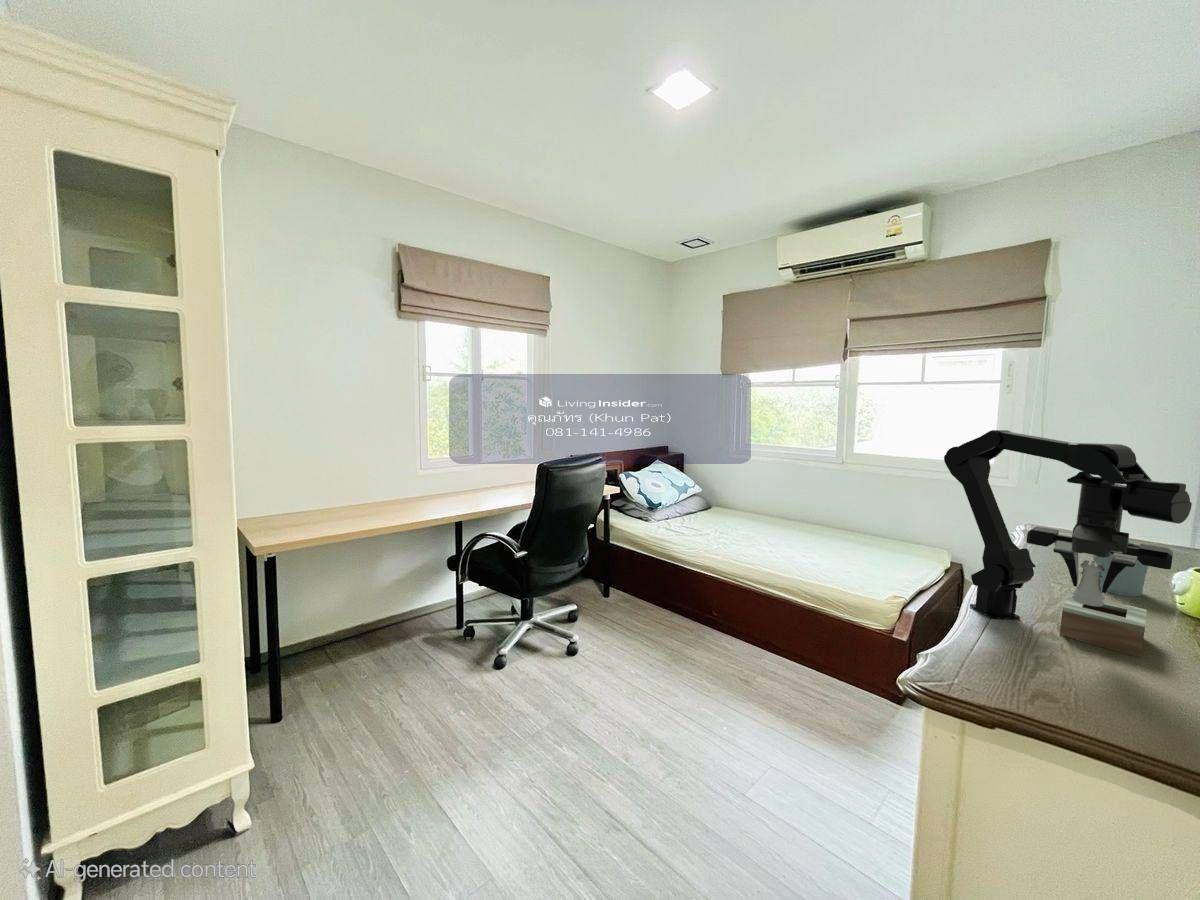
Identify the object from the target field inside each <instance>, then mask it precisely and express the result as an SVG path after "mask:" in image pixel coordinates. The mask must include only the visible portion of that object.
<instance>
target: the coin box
mask: <svg viewBox="0 0 1200 900" xmlns="http://www.w3.org/2000/svg"><path fill="white" fill-rule="evenodd" d="M1072 595H1074V593H1073V592H1069V594H1068V596H1067V598H1066V600H1065V602H1064V603H1063V606H1062V609H1061V610H1062V611H1061V620H1060V627H1059V636H1062V635H1063V637H1066V636H1068V637H1067V638H1069V637H1071V638H1070V639H1073V638H1074V640H1077V641H1081V642H1083V643H1089V644H1091V645H1095V646H1098V647H1102V648H1107V649H1108V650H1113V651H1116V652H1119V653H1124V654H1127V655H1130V656H1133V657H1138V658H1142V651H1143V646H1144V637H1145V632H1146V621H1147V609H1144V608H1140V607H1136V606H1132V605H1126V604H1123V603H1120V602H1119V603H1118V602H1115V601H1111V600H1110V601H1109V600H1106V599H1105V600H1103V602H1104V603H1105V604H1104V605H1103V606H1100V607H1097V606H1089V605H1085V604H1082V603H1079V602H1077V601H1075V600H1074V599H1073V598H1072Z"/></svg>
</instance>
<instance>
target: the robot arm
mask: <svg viewBox="0 0 1200 900" xmlns="http://www.w3.org/2000/svg"><path fill="white" fill-rule="evenodd" d="M1004 450H1006V451H1011V452H1016V453H1021V454H1026V455H1031V456H1036V457H1040V458H1045V459H1050V460H1054V461H1058V462H1060V463H1063V464H1065V465H1067V466H1069V467H1070V468H1073V469H1075V470H1078V473H1076V474H1074V475H1073V476H1072V477H1070V478H1067V479H1066V481H1067V482H1068V483H1069V484H1070V483H1071V484H1075V485H1076V484H1077V485H1081V486H1080V491H1079V492H1080V493H1079V500H1078V501H1079V502H1078V509H1077V515H1076V524H1075V525H1074V527H1073V529H1072V534H1071V535H1072V536H1069V535H1064V534H1060V532H1059V529H1054V528H1049V527H1048V528H1047V527H1041V526H1035V527H1032V528H1031V529H1030V530H1029V531H1027V534H1026V543H1027V544H1030V545H1035V546H1040V547H1041V546H1042V547H1046V548H1047V547H1049V546H1051V545H1053V544H1054V548H1053V549H1052V551H1053V552H1054V553H1056V554H1059V555H1060V556H1061V557H1062V558H1063V560H1064V562H1065V565H1066V567H1067V569H1068V573H1069V575H1070V579H1071V582H1072V585H1073V587H1076V588H1077V587H1078V583H1079V578H1080V577H1079V575H1080V574H1079V573H1080V572H1079V554H1086V555H1087V554H1088V555H1092V556H1093V555H1096V556H1098V557H1109V556H1110V553H1111V554H1114V557H1113V559H1112V560H1111V563H1110V567H1109V569H1108V572H1107V575H1106V578H1105V581H1104V584H1103V588H1102V590H1101V592H1102V594H1106V593H1107V592H1106V591H1107V589H1108V588H1109V586H1110V585H1111V583H1112V582H1113V580H1114V579H1115V578H1116V576H1117V575H1118V574H1119V573H1120V572H1121V571H1122V570H1123V569H1124V568H1125V567H1135V566H1136V563H1137V560H1138V561H1139V562H1140V563H1141V564H1142V565H1146V566H1148V567H1153V568H1156V569H1157V568H1158V569H1163V570H1171V569H1172V562H1173V556H1174V551H1172V549H1170V548H1169V547H1165V546H1164V547H1163V546H1158V545H1157V546H1156V545H1153V544H1152V545H1151V544H1145V543H1140V544H1139V545H1140V546H1139V548H1135V547H1129V546H1128V542H1129V540H1130V533H1129V532H1123V531H1121V526H1122V517H1123V512H1125V511H1126V512H1127V513H1128V514H1129V515H1130V516H1133V517H1136V518H1137V517H1139V518H1144V519H1150V520H1154V521H1155V520H1156V521H1162V522H1166V523H1167V522H1168V523H1173V524H1182V523H1184V522H1185V521H1186V520H1187V518H1188V517H1189V515H1190V513H1191V510H1192V505H1193V503H1192V501H1191V498H1190V495H1189V493H1188V491H1186V489H1187V484H1186V483H1183V482H1182V483H1181V482H1166V481H1165V482H1163V481H1155V480H1152V479H1151V477H1150V476H1149V475H1148V474H1147V473H1146V471H1145V470H1144V469H1143V468H1142V467H1141V466H1140V465H1139V464H1140V463H1138V462H1137V456H1136V453H1135V452H1134V451H1133V450H1132V448H1130V447H1129V446H1127V445H1123V444H1119V443H1118V444H1117V443H1097V442H1096V443H1094V442H1093V443H1091V442H1090V443H1088V442H1085V443H1084V442H1070V441H1063V440H1058V439H1053V438H1047V437H1041V436H1036V435H1030V434H1024V433H1017V432H1014V431H1010V430H1007V429H999V430H997V429H994V430H993V429H992V430H988V431H987V432H986V433H984V434H982V435H981V436H978V437H976V438H974V439H971V440H969V441H966V442H965V443H962V444H961V445H958V446H952V447H951V448H949V449H948V450H947V451H946V453H945V455H943V461H944V464H945V466H946V467H947V469H948V471H949V472H950V473H949V474H950V475H951V476H953V477H954V478H955V479H956V480H957V482H959V483H960V484H961V486H962V487H963V490H964V493H965V496H966V498H967V501H968V503H969V506H970V509H971V512H972V514H973V516H974V517H973V518H974V519H975V522H976V525H977V527H978V530H979V534H980V536H981V538H982V541H983V544H984V549H983V553H982V558H981V559H982V565H983V568H982V569H980V570H979V571H976V572H974V573H972V574H971V575H970V578H971V582H972V585H974V586H976V587H977V588H976V595H975V596H976V597H975V603H970V604H969V607H970V608H972V609H974V610H976V611H977V612H980V613H981V614H983V615H985V616H986V617H988V618H991V619H1002V620H1003V619H1004V620H1005V619H1007V620H1008V619H1010V620H1011V619H1012V620H1020V619H1021V616H1020V615H1019V614H1016V610H1017V603H1018V602H1017V600H1018V595H1017V589H1022V588H1023V586H1024V585H1025V584H1026V583H1028V582H1030V581H1031V580H1032V578H1033V577H1034V575H1035V570H1034V568H1036V566H1037V565H1035V563H1033V561H1032V559H1031V556H1030V554H1031V553H1030V551H1029V549H1028V548H1026V547H1025V548H1019V547H1018V546H1017V545H1016V544H1015V543H1014V542H1013V541H1012V539H1011V535H1010V534H1009V531H1008V528H1007V526H1006V523H1005V520H1004V518H1003V515H1002V513H1001V511H1000V508H999V505H998V503H997V499H996V497H995V495H994V493H993V489H992V487H991V485H990V481H989V479H990V478H989V477H990V473H991V463H990V461H991V460H993V459H995V458H996V457H998V456H999V455H1000V454H1002V452H1003V451H1004ZM1129 543H1130V542H1129Z"/></svg>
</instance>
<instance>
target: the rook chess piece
mask: <svg viewBox="0 0 1200 900" xmlns="http://www.w3.org/2000/svg"><path fill="white" fill-rule="evenodd" d="M1079 566H1080V567H1081V568H1082V571H1081V572H1080V574H1081V579H1080V582H1079V585H1077V587H1076V588H1074V589H1073V590H1072V593H1074V595H1072V598H1073V599H1074V600H1075V601H1077V602H1079V603H1082V604H1085V605H1089V606H1097V607H1100V606H1103V605H1104V604H1105V603H1104V602H1103V600H1106V599H1105V595H1103V593H1102V590H1100V578H1101V577H1102V576H1101V575H1100V574H1101V572H1102V571H1104V570H1105V569H1104V568H1103V567H1102V564H1101V563H1100V562H1097V564H1095V561H1094V560H1091V561H1090V560H1089V559H1085V560H1083V562H1082V563H1081V564H1080V565H1079Z"/></svg>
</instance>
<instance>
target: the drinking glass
mask: <svg viewBox="0 0 1200 900" xmlns="http://www.w3.org/2000/svg"><path fill="white" fill-rule="evenodd" d="M1128 546H1129V547H1135V548H1139V546H1140V544H1139V543H1133V542H1128ZM1092 556H1093V557H1092V561H1095V564H1097V562H1100V563H1101V564H1102V567H1103V568H1104V569H1105V570H1104V571H1102V572H1101V574H1100V575H1101V576H1102V577H1101V578H1100V589H1101V591H1102V588H1103V584H1104V581H1105V578H1106V575H1107V572H1108V569H1109V567H1110V563H1111V560H1112V559H1113V557H1114V554H1111V553H1110V556H1109V557H1098V556H1096V555H1092ZM1148 569H1149V566H1146V565H1142V564H1141V563H1140V562H1139V561H1138V560H1137V563H1136V566H1135V567H1125V568H1124V569H1123V570H1122V571H1121V572H1120V573H1119V574H1118V575H1117V576H1116V578H1115V579H1114V580H1113V582H1112V583H1111V585H1110V586H1109V588H1108V589H1107V592H1106V593H1110V592H1111V594H1114V593H1115V595H1120V596H1125V597H1126V596H1127V597H1140V596H1142V595H1143V590H1144V584H1145V581H1146V578H1147V577H1146V576H1147V573H1148Z"/></svg>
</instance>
